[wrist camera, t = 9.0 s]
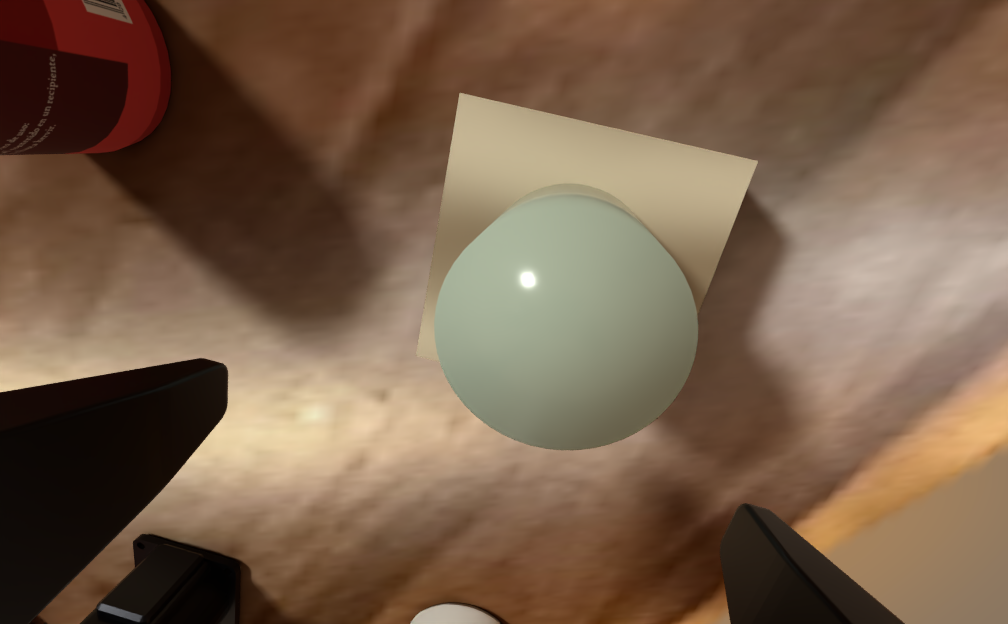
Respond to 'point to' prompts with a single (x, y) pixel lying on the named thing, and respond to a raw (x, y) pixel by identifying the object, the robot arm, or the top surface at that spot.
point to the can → (454, 615)
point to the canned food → (80, 75)
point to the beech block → (588, 161)
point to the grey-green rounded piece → (566, 321)
